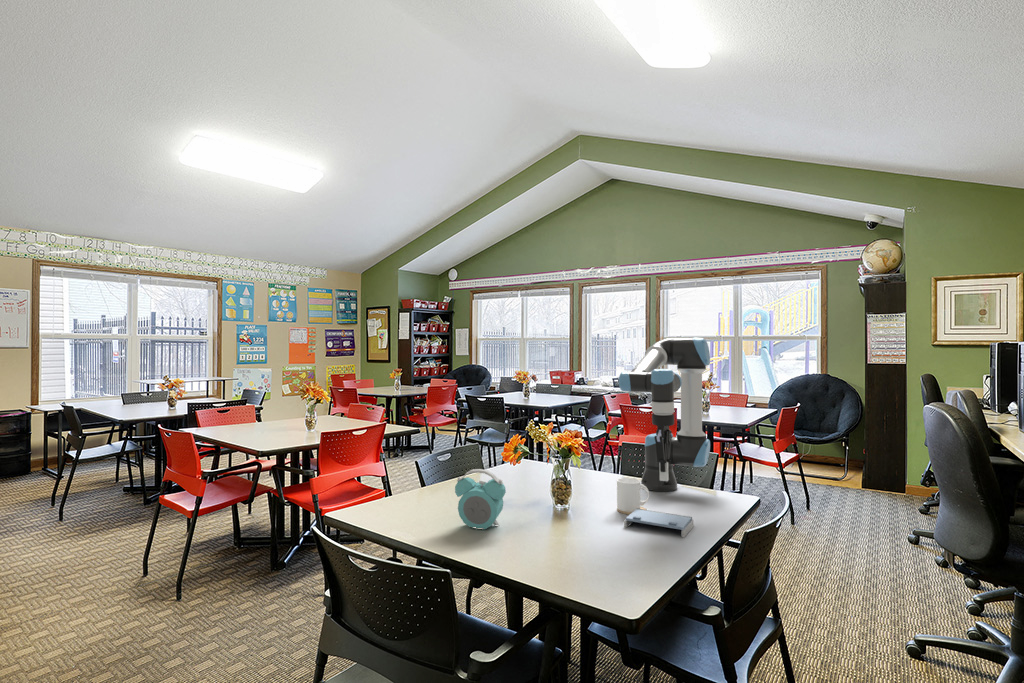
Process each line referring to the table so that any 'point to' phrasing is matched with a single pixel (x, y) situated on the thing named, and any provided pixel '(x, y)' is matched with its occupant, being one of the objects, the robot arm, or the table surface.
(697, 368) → the robot arm
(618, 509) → the coaster
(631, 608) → the table surface
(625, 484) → the mug
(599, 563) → the table surface
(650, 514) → the cover
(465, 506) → the alarm clock
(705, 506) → the table surface
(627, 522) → the bracket
